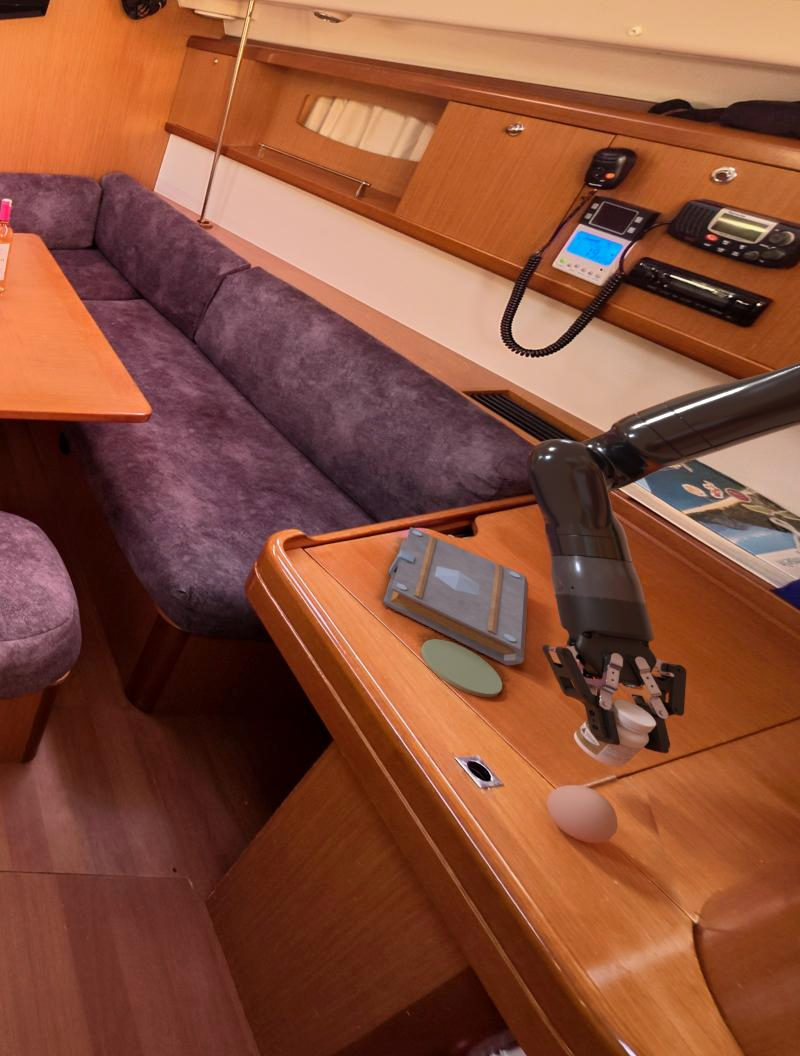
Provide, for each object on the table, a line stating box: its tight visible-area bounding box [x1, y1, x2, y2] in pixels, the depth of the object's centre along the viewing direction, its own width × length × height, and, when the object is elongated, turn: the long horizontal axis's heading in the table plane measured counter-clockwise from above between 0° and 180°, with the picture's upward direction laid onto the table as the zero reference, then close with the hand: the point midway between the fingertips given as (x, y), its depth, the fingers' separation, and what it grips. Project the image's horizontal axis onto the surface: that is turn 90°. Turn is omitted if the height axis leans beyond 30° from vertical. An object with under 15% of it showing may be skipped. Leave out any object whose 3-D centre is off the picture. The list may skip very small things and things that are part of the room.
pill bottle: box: [573, 698, 656, 768], centre depth 76 cm, size 4×4×8 cm
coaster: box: [420, 638, 503, 698], centre depth 93 cm, size 9×9×1 cm
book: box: [382, 526, 529, 667], centre depth 104 cm, size 21×16×5 cm
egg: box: [546, 784, 618, 844], centre depth 73 cm, size 5×5×7 cm
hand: (631, 746), depth 75 cm, fingers closed on pill bottle, 4 cm apart
